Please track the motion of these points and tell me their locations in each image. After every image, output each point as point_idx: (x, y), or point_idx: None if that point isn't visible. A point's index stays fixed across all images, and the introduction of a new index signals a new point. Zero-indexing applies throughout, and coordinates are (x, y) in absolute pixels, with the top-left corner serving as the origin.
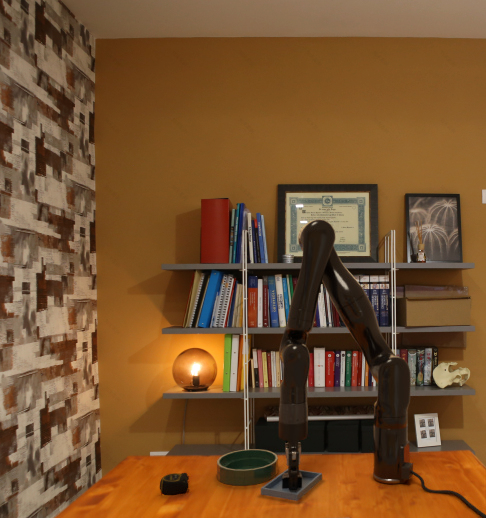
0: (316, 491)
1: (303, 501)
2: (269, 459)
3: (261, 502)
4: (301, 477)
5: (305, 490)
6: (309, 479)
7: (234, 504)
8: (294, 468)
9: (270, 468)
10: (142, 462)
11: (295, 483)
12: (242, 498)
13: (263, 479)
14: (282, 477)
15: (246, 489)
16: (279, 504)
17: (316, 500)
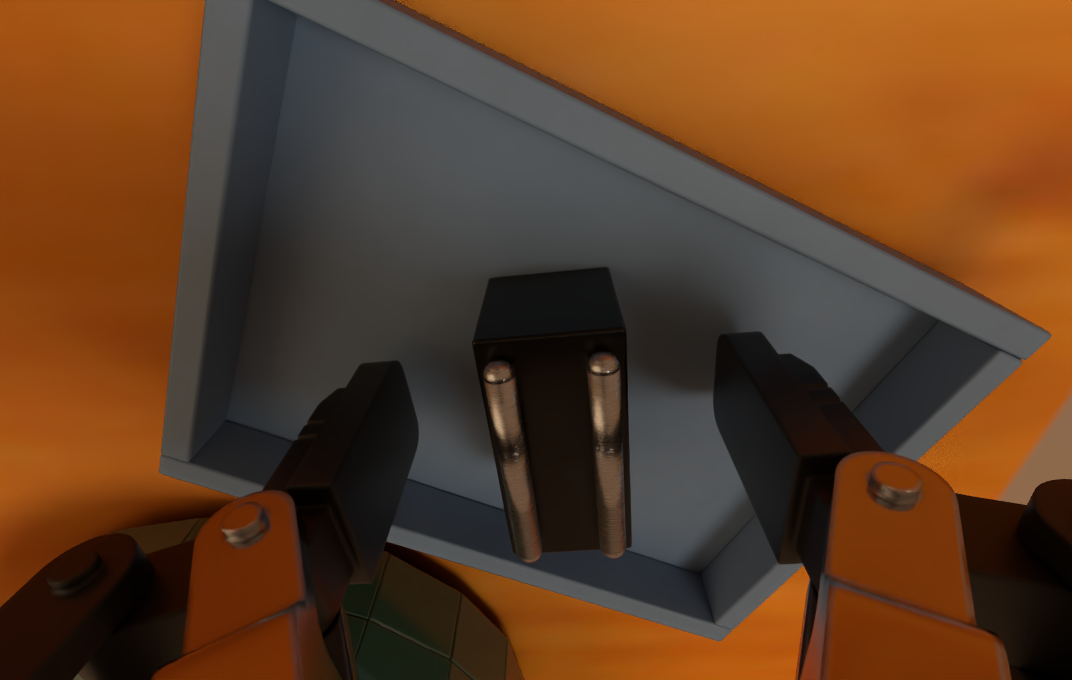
0: (676, 44)
1: (942, 220)
2: None
3: None
4: (625, 335)
5: (835, 224)
6: (330, 174)
7: (785, 677)
8: (360, 467)
9: (363, 667)
10: None
11: (831, 403)
12: (699, 653)
13: (457, 618)
14: (599, 549)
15: (545, 648)
16: None
17: (991, 34)
